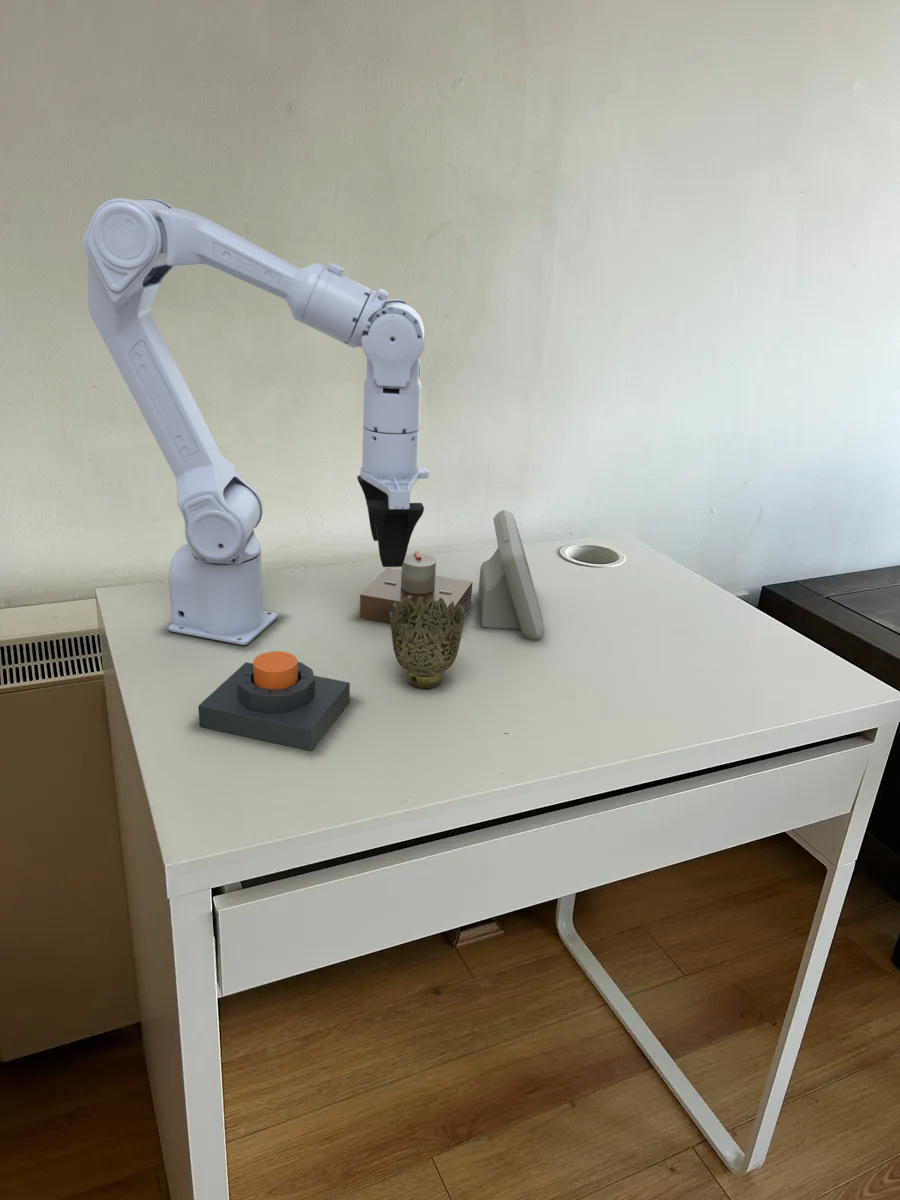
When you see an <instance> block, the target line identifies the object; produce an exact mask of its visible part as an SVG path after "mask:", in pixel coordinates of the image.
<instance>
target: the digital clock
mask: <svg viewBox="0 0 900 1200" xmlns="http://www.w3.org/2000/svg"><path fill="white" fill-rule="evenodd" d="M517 524H518V523H517V522H516V518H515V516H514V513H513V512H511V511H508V510H506V509H502V510H500V511H498V512H497V513H496V514H495V516H494V517H493V525H494V531H495V536H496V542H497V549H496V550H495V551H494V553H493V554H492V556H491V557H490V558H489V559H487V560H485V561H483V562H482V563H481V566H480V569H479V581H478V594H477V595H478V605H479V615H480V624H481V626H482V627H484V628H487V629H488V628H489V629H490V628H492V629H510V630H511V629H512V630H521V632H522V636H524V637H525V638H528V639H530V640H537V639H539V638H540V637H541V636H542V635H543V633H544V632H545V625H544V620H543V615H542V612H541V608H540V603H539V600H538V597H537V593H536V588H535V584H534V580H533V577H532V576H533V575H532V573H531V570H530V565H529V561H528V560H527V556H526V552H525V549H524V546H523V542H522V538H521V535H520V531H519V527H518V525H517Z"/></svg>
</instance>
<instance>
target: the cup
mask: <svg viewBox="0 0 900 1200" xmlns="http://www.w3.org/2000/svg"><path fill="white" fill-rule="evenodd" d="M389 613H390V621H391V624H390V628H391V629H390V631H391V632H390V633H391V641H392V648H393V653H394V656H395V659H396V661H397V663H398V664H399V665H400V667H401V668H402V669H404V670H405V671H406V672H405V675H406V678H407V681H408V682H409V684H411V685H412V686H414V687H416V688H420V689H421V688H422V689H430V688H434V687H436V686H438V685H439V684H440V683H441V681H442V679H443V677H444V674H443V673H445V672H446V671H448V669H450V668H451V666H452V665H453V664H454V662H455V661H456V658H457V656H458V652H459V649H460V645H461V640H462V635H463V629H464V624H465V620H466V619H465V618H466V612H463V606H457V607H456V608H455V605H454V602H453V601H452V602H451V603H450V604H449V606H448V607H447V605H446V603H445V602H444V600H443V599H442V598H439V600H438V601H436V600H435V598H434V597H433V596H432V597H430V598H429V599H428V600H427V602H426V604H425V605H424V603H423V600H422V597H421V596H420V597H418V598H417V600H416V603H415V602H414V603H413V602H412V600H411V599H409V598H407V597H405V598H404V599H403V600H402V601H401V602H400V603H398V602H394V604H393V613H391V611H390V612H389Z"/></svg>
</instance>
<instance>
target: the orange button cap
mask: <svg viewBox="0 0 900 1200" xmlns="http://www.w3.org/2000/svg"><path fill="white" fill-rule="evenodd" d="M298 662H299V661H298V658H297V656H295V654H292V653H290V652H287V651H280V650H279V651H278V650H277V651H276V650H275V651H267V652H264V653H261V654H259V655H257V656H256V657H255V658H254V659H253V662H252V663H253V672H254V683H255V685H256V686H257V687H260V688H265V689H270V690H273V689H285V688H287V687H290V686H293V685H296V683H297V682H298Z"/></svg>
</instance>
